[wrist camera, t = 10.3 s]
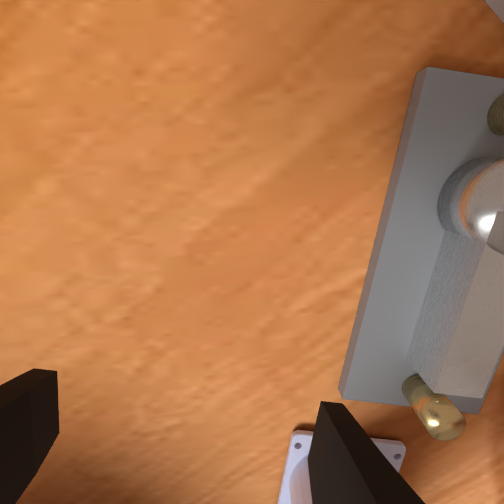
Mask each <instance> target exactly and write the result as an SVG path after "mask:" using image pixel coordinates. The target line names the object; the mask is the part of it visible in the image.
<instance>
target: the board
mask: <svg viewBox="0 0 504 504" xmlns="http://www.w3.org/2000/svg"><path fill="white" fill-rule="evenodd" d="M503 94H504V78H497V77H491V76H485V75H479V74H472V73H466V72H460V71H454V70H447V69H441V68H435V67H426V68H424V69H423V70H421V71H419V72H417V75H416V79H415V83H414V87H413V91H412V95H411V99H410V103H409V107H408V111H407V115H406V119H405V123H404V127H403V131H402V135H401V139H400V143H399V147H398V151H397V155H396V159H395V163H394V167H393V171H392V175H391V179H390V183H389V187H388V191H387V195H386V199H385V203H384V207H383V211H382V215H381V219H380V222H379V226H378V230H377V234H376V238H375V242H374V246H373V250H372V254H371V258H370V262H369V266H368V270H367V274H366V278H365V282H364V286H363V290H362V294H361V298H360V302H359V306H358V310H357V314H356V318H355V322H354V326H353V330H352V334H351V338H350V342H349V346H348V350H347V354H346V358H345V362H344V366H343V370H342V374H341V378H340V382H339V386H338V389H339V392H340V394H341V397H342V399H347V400H356V401H365V402H373V403H382V404H391V405H400V406H408V407H411V406H410V404H409V403H408V401H407V400H406V398H405V397H404V395H403V393H402V384H403V382H404V381H405V380H406V379H407V378H408V377H409V376H411V375H414V374H418V373H417V372H416V370H415V369H414V368H413V367H412V365H411V364H410V363H409V362H408V361H407V359H406V355H407V352H408V349H409V346H410V342H411V339H412V336H413V333H414V329H415V326H416V323H417V320H418V316H419V313H420V310H421V307H422V303H423V300H424V297H425V294H426V291H427V287H428V284H429V281H430V278H431V274H432V271H433V268H434V265H435V261H436V258H437V255H438V252H439V249H440V245H441V242H442V239H443V236H444V232H445V230H444V228H443V227H442V225H441V223H440V221H439V218H438V214H437V201H438V196H439V193H440V190H441V188H442V186H443V184H444V183H445V181H446V180H447V178H448V177H449V176H450V175H451V174H452V173H453V172H454V171H455V170H456V169H457V168H459V167H460V166H462V165H463V164H465V163H467V162H469V161H471V160H474V159H478V158H487V157H504V136H499V135H496V134H494V133H493V132H492V131H491V130H490V128H489V126H488V123H487V114H488V110H489V108H490V106H491V104H492V103H493V102H494V101H495V100H496V99H497V98H498V97H499V96H501V95H503ZM503 352H504V345H503V348H502V350H501V353H500V355H499V358H498V360H497V363H496V365H495V368H494V370H493V373H492V375H491V378H490V380H489V383H488V385H487V388H486V390H485V393H484V395H483V398H482V399H481V398H473V397H464V396H456V395H447V394H445V395H446V396H447V397H448V399H449V400H450V401H451V402H452V403H453V404H454V406H455V407H456V408H457V409H458V410H459V411H460V412H461V413H469V414H479V412H480V409H481V407H482V404H483V402H484V399H485V397H486V394H487V392H488V390H489V387H490V385H491V382H492V380H493V377H494V375H495V372H496V370H497V367H498V365H499V362H500V360H501V357H502V355H503Z"/></svg>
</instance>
